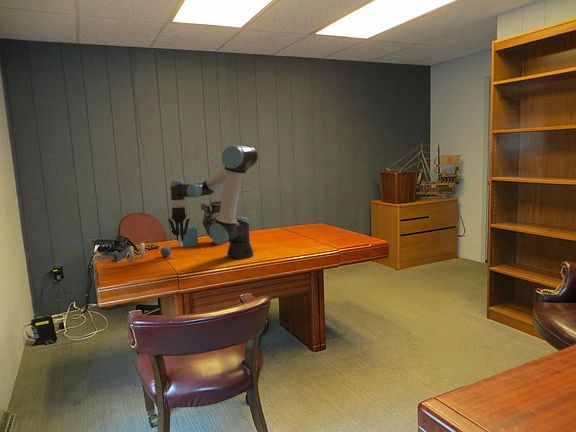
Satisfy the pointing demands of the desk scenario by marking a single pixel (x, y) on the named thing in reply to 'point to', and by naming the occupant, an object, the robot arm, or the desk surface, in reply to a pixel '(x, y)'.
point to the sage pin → (131, 253)
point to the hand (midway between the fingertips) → (180, 246)
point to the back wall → (121, 255)
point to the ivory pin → (142, 250)
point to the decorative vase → (210, 215)
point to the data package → (190, 237)
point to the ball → (165, 251)
